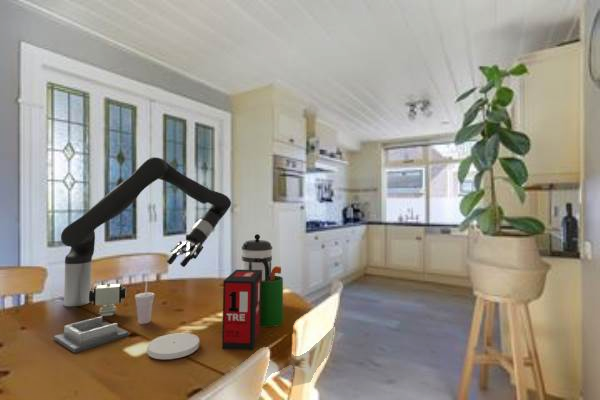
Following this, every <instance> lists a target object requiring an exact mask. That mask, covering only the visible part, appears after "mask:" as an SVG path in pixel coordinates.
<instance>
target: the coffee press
mask: <svg viewBox="0 0 600 400" xmlns="http://www.w3.org/2000/svg"><path fill="white" fill-rule="evenodd" d="M260 238H261V235H260V234H259V233H258V234H257V233H256V234H255V235H254V239H251V240H246V241H245V242H243V244H242V245H241V250H242V256H241V262H242V263H241V265H242V266H241V267H242V268H241V270H262V281H264V280H267V276H271V272H272V260H273V254H272V250H273V246H272V243H271V242H269V241H268V240H265V239H262V240H261V239H260Z"/></svg>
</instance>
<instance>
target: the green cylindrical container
mask: <svg viewBox="0 0 600 400" xmlns="http://www.w3.org/2000/svg"><path fill="white" fill-rule="evenodd" d="M276 274H282V267H281V266H274V267H273V268H271V276H267V280H264V281H262V304H261V326H266V327H265V328H270V327H269V326H274V327H276V325H278V326H280V325H282V324H283V323H282V322H284V278H283V277H282V276H281V275H276ZM281 323H282V324H281ZM279 324H280V325H279Z"/></svg>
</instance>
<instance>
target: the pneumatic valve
mask: <svg viewBox="0 0 600 400" xmlns="http://www.w3.org/2000/svg"><path fill="white" fill-rule="evenodd" d="M126 298H127V287H126V286H123V283H115V284H111V283H110V282H107V283H106V284H104V285H103V284H102V285H95V286H94V287H93V289H91V290H90V292H89V302H90V303H92V304H93V306H101V307H100V308H99V311H98V312H99V313H98V314H99V315H100V316H102V318H104V317H112V316H114V314H116V312H117V306H115V304H120V303H122V301H123V300H124V299H125V300H126Z"/></svg>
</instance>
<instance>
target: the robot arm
mask: <svg viewBox="0 0 600 400" xmlns="http://www.w3.org/2000/svg"><path fill="white" fill-rule="evenodd" d="M157 180H161V181H164V182H166V183H169V184H170V185H172V186H174V187H175V188H177V189H179V190H180V191H182V192H183V193H184V194H185V195H186V196H188V197H190V198H192V199H194V200H195V201H197V202H199V203H201V204H202V205H203V204H204V205H205V204H211V206H210V207H209V209H208V210H207V211H206V212H204V214H202V216H201V217H200V219H198V221H196V223H195V224H194V225H193V226H192V228H191V229H190V230H189V231H188V232H187V234H185V240H184V241H181V240H178V242H177V243H176V244H174V246H173V247H172V248H171V250H170V253H171V254H170V256H169V257H168V259H167V260H166V263H167V264H169V265H172V264H173V263H174V262H175V260H176V259H177V257H179V256H182V255H184V254H186V256H184V258H183V259H182V260H181V261H180V263H179V265H180V266H181V267H183V268H185V267H186V266H187V264H188V263H189V262H190V261H191V260H196V259H197V258H198V256H199V255H200V253H201V252H202V251H203V249H204V246H203V244H204V243H205V241H206V240H207V239H208V238H209V236H210V235H211V233H212V232H213V230H214V229H215V228H216V227H217V225H218V224H219V221H220V220H222V218H223V217H224V216H225V215H226V213H228V211H229V208H230V207H231V205H232V201H231V199H230V198H229V196H227V195H226V194H224V193H221V192H218V191H215V190H212V189H209V188H207V187H206V186H204V185H203V184H201V183H199V182H197V181H196V180H193V179H191V178H190V177H188V176H186V175H184V174H183V173H181V172H180V171H178V170H176V169H175V168H174V167H173V166H172V165H171V164H169V163H168V162H167V161H166V160H164V159H163V158H162V157H161V158H160V157H154V156H153V157H149V158H147V159H146V160H145V161H144V162H143V163H141V165H140V166H139V167H138V168H137V169H136V170H135V171H134V172H133V173H132V174H131V175H130V176H129V177H128V178H126V179H125V180H124V181H122V182H121V183H118V185H116V186H115V187H114V188H113V189H111V191H110V192H108V193H107V194H106V195H105V196H104V197H102V198H101V199H100V200H98V202H97V203H96V204H94V205H93V206H92V207H91V208H90V209H89V210H88V211H87V212H86V213H84V214H83V215H81V217H79V218H78V219H76V220H74V221H73V222H71V223H70V224H68V225H67V226H66V227H65V228H64V229H63V230H62V232H61V234H60V240H61V242H62V244H64V245H65V246H67V247H70V251H69V252H68V254H66V256H65V258H64V286H63V288H64V289H63V306H64V307H79V306H84V305H88V304H89V303H91V302H89V292H90V290H92V264H93V263H92V258H93V255H94V253H95V243H96V232H95V230H96V229H97V228H98V227H100V226H102V225H104V224H105V223H107V222H109V221H110V220H113V219H115V218H116V217H118V216H119V215H120V214H122V213H123V212H124V211H125V210H127V209H128V208H129V207H130V206H131V205H132V204H133V203H134V202H135V201H136V200H137V198H138V196H139V195H140V194H141V193H142V192H143V191H144V190H145V189H146V188H147V187H148V186H149V185H151V184H153V183H154V182H155V181H157Z"/></svg>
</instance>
